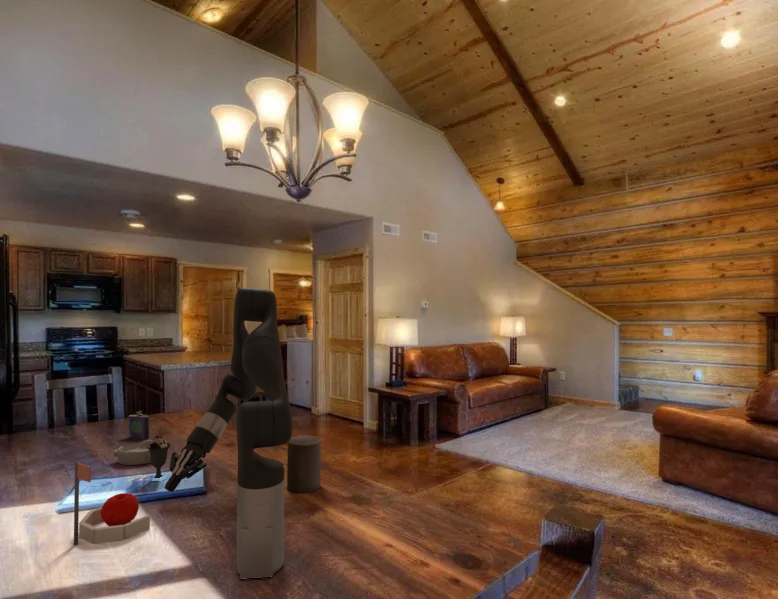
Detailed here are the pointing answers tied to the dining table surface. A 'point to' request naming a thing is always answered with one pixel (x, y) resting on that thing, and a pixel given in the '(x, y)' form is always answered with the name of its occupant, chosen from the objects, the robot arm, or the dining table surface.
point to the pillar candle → (303, 464)
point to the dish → (134, 454)
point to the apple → (120, 509)
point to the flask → (138, 426)
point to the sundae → (158, 453)
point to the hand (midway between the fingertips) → (168, 490)
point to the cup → (94, 516)
